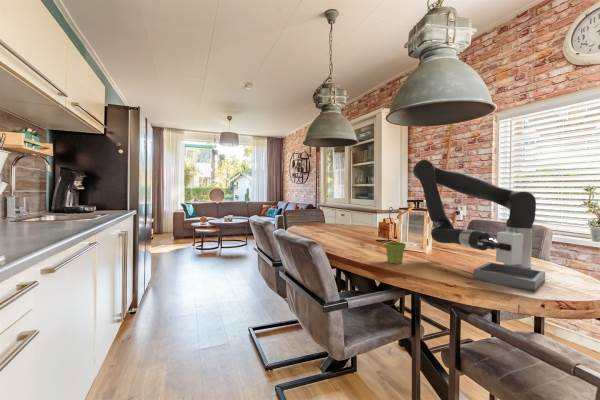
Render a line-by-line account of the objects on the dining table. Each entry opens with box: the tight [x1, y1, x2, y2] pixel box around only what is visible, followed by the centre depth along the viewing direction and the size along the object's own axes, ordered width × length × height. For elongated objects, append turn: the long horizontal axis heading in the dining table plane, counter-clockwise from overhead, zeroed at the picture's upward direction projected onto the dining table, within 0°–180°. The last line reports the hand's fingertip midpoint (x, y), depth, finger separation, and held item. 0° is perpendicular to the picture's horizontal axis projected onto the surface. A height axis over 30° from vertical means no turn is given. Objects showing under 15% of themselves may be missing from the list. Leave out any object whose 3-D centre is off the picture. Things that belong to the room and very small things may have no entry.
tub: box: [495, 231, 524, 265], centre depth 105 cm, size 6×6×11 cm
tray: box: [473, 261, 546, 293], centre depth 106 cm, size 18×18×4 cm
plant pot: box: [383, 241, 407, 265], centre depth 130 cm, size 9×9×9 cm
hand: (516, 247), depth 103 cm, fingers closed on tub, 5 cm apart
